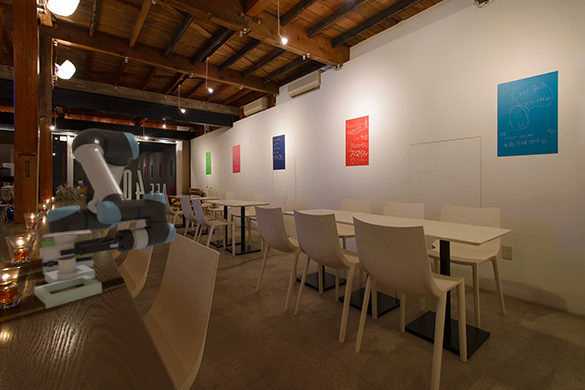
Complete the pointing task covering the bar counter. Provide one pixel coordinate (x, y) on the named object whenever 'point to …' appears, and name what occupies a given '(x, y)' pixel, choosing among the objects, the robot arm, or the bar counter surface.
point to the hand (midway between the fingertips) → (42, 254)
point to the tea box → (50, 241)
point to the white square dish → (82, 270)
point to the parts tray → (69, 295)
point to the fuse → (66, 258)
